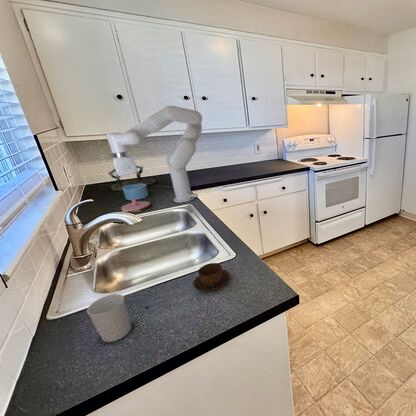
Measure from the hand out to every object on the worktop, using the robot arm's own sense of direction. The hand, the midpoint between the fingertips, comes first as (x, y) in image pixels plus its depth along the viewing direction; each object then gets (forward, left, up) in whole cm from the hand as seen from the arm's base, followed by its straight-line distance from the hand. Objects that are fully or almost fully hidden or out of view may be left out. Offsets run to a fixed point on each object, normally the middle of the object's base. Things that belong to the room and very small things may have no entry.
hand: (130, 183), depth 160 cm
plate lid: (+1, 0, -14) cm, 14 cm away
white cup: (-50, +101, -16) cm, 114 cm away
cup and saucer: (-70, +81, -16) cm, 109 cm away
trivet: (+1, 0, -16) cm, 16 cm away
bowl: (+14, -24, -16) cm, 32 cm away
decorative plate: (+33, -54, -16) cm, 65 cm away
